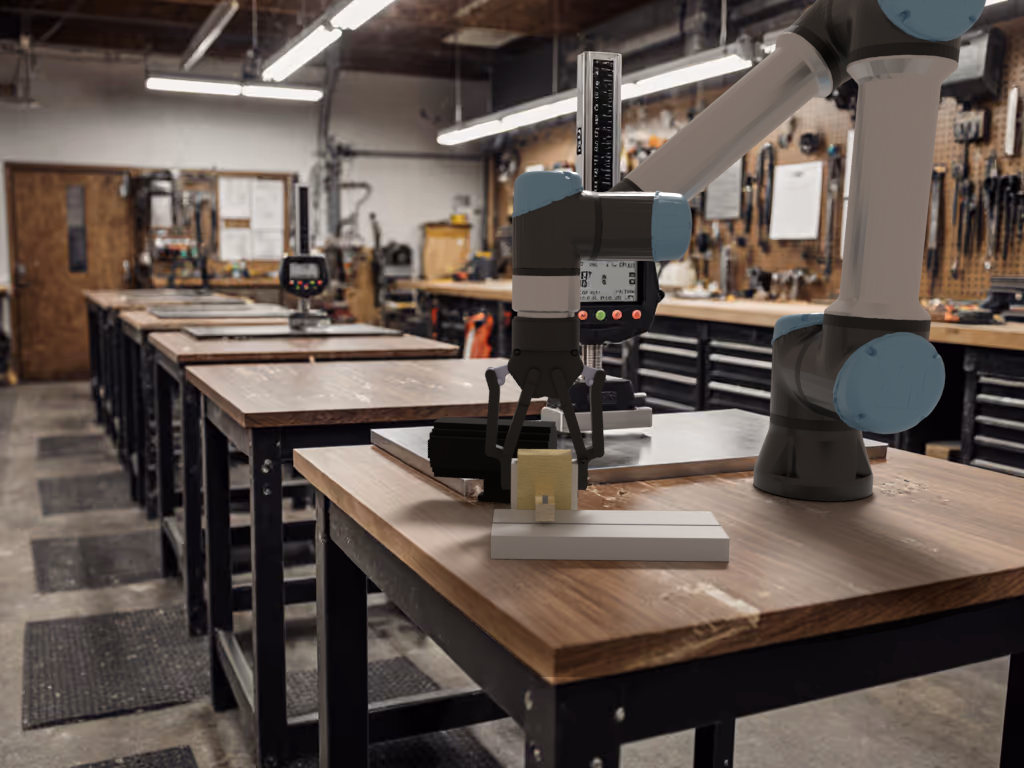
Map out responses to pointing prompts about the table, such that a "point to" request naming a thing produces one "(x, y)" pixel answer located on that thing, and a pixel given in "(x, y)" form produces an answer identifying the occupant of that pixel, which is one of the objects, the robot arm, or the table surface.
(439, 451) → the security camera
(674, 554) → the board
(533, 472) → the pale yellow block
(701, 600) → the table surface
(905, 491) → the table surface
